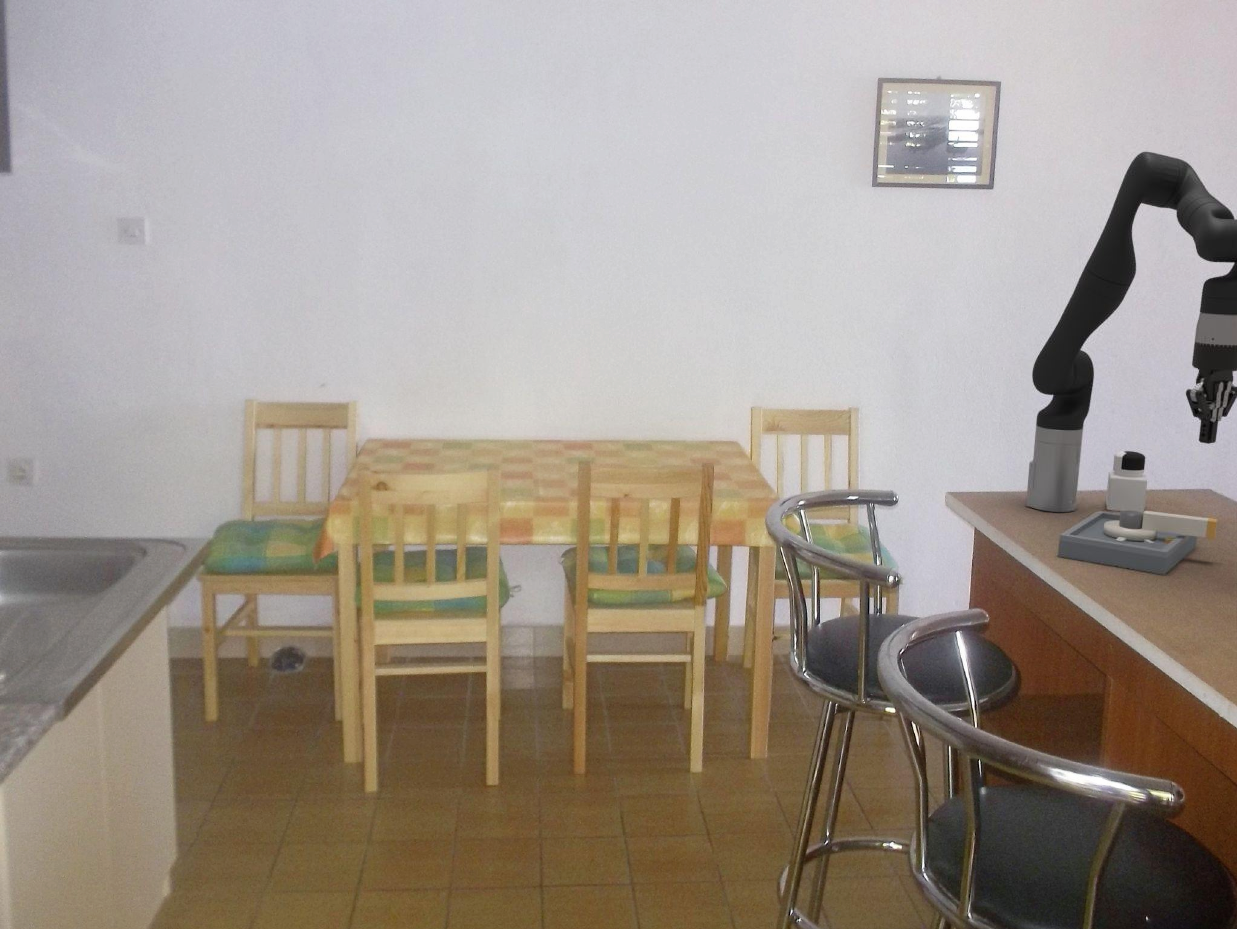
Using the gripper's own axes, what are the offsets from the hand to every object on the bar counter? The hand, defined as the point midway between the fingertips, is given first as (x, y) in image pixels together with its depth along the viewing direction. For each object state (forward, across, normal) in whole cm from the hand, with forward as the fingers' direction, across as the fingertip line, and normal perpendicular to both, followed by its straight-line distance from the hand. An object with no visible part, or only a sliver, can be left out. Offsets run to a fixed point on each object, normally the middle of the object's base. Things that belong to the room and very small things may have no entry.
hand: (1207, 442), depth 209 cm
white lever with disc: (+19, +3, +9) cm, 22 cm away
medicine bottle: (+23, +32, +34) cm, 52 cm away
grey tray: (+23, +1, +13) cm, 26 cm away
